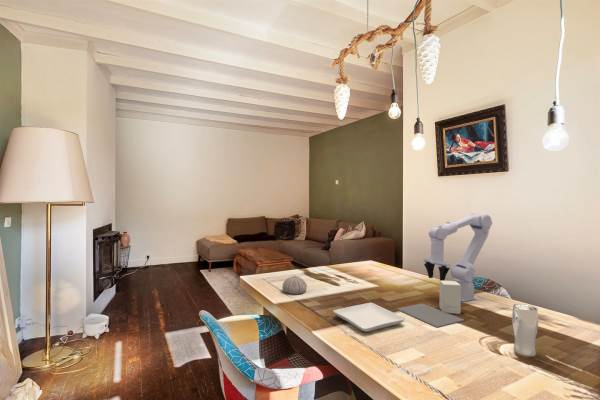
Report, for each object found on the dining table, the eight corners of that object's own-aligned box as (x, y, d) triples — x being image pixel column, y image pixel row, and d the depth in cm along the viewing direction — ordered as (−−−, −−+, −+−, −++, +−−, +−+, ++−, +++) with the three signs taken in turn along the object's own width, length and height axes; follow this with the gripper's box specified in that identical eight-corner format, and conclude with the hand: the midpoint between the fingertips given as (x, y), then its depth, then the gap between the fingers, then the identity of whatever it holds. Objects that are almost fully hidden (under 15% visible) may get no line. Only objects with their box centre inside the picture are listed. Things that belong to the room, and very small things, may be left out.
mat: (422, 304, 151) (422, 303, 151) (464, 320, 131) (464, 319, 131) (396, 309, 144) (396, 308, 143) (436, 327, 124) (436, 326, 124)
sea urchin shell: (298, 286, 179) (298, 272, 179) (312, 293, 168) (312, 277, 167) (277, 290, 172) (277, 275, 172) (290, 297, 160) (290, 281, 160)
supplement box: (460, 314, 139) (461, 285, 138) (442, 312, 140) (443, 284, 140) (456, 308, 146) (456, 280, 146) (438, 307, 147) (439, 279, 147)
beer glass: (506, 347, 108) (507, 303, 108) (526, 347, 109) (526, 303, 108) (522, 358, 101) (523, 311, 101) (543, 357, 102) (544, 310, 101)
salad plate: (363, 337, 116) (364, 328, 116) (331, 317, 135) (331, 309, 135) (406, 326, 126) (406, 318, 126) (371, 309, 144) (371, 302, 144)
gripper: (419, 249, 161) (418, 276, 161) (444, 254, 148) (443, 284, 148) (429, 249, 164) (428, 275, 164) (454, 254, 151) (453, 282, 151)
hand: (436, 279), depth 156 cm, fingers open, 6 cm apart
